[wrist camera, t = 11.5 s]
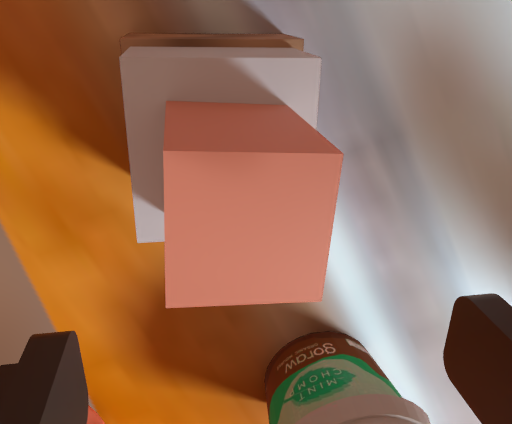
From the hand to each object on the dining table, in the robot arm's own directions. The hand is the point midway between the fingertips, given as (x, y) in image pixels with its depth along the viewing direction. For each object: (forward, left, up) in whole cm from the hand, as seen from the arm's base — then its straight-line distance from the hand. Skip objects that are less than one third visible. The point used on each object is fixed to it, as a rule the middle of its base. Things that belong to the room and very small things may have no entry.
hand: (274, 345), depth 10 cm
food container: (-7, +20, -21) cm, 30 cm away
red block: (0, 0, -11) cm, 11 cm away
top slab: (0, -1, -16) cm, 16 cm away
